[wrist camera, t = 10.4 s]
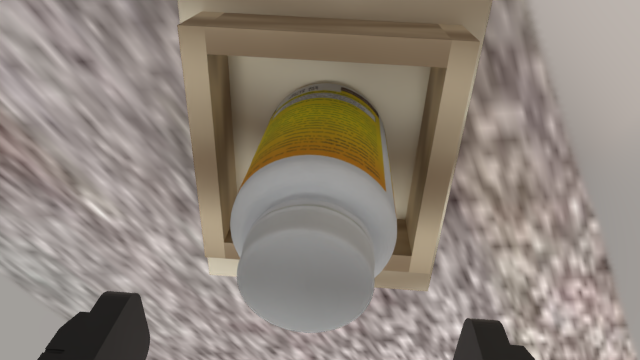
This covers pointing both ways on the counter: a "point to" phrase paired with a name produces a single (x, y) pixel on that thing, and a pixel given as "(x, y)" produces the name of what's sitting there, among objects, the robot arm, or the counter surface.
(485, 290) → the counter surface
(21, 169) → the counter surface
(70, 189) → the counter surface
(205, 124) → the cup caddy
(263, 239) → the supplement bottle
